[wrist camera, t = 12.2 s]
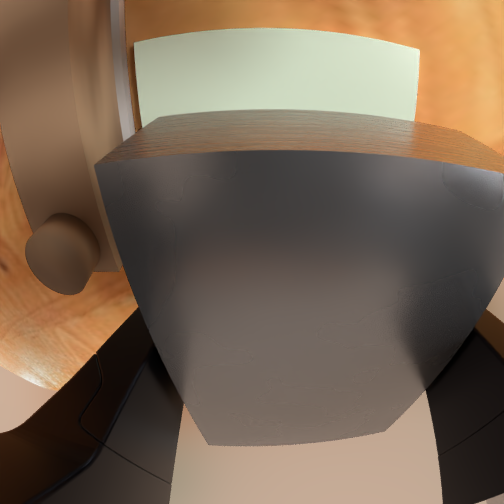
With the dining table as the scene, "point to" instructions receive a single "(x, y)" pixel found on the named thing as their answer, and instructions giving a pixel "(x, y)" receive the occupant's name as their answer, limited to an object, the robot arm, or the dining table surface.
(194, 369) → the flat grey slab block
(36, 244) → the body
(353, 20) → the dining table surface
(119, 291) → the dining table surface
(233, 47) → the mat
